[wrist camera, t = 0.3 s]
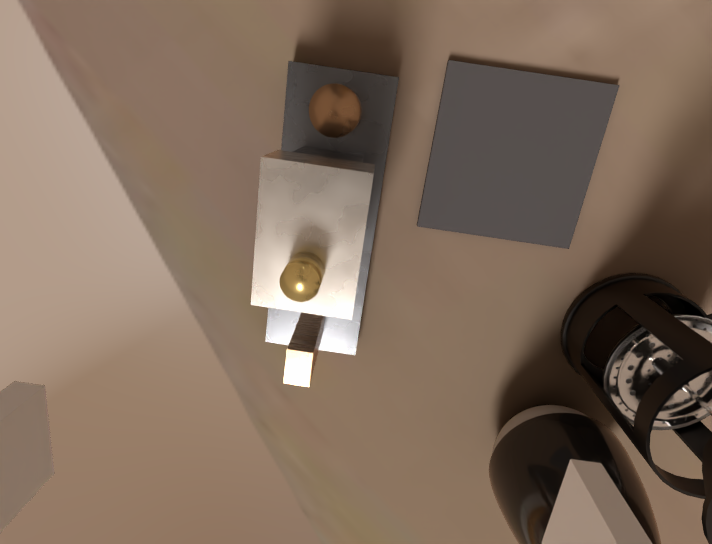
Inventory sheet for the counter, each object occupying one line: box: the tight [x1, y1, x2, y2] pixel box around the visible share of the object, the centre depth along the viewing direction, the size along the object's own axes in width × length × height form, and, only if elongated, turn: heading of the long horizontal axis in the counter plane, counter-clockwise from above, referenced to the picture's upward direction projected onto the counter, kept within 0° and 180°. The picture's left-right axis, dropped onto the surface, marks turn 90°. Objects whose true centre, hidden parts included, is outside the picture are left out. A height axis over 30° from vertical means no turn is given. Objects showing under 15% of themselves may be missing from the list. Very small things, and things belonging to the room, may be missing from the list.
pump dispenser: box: [489, 405, 661, 544], centre depth 32 cm, size 10×10×15 cm
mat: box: [417, 60, 619, 249], centre depth 32 cm, size 11×11×1 cm
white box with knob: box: [251, 150, 375, 320], centre depth 25 cm, size 8×6×6 cm
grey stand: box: [266, 61, 399, 387], centre depth 30 cm, size 20×7×8 cm, turn 172°
